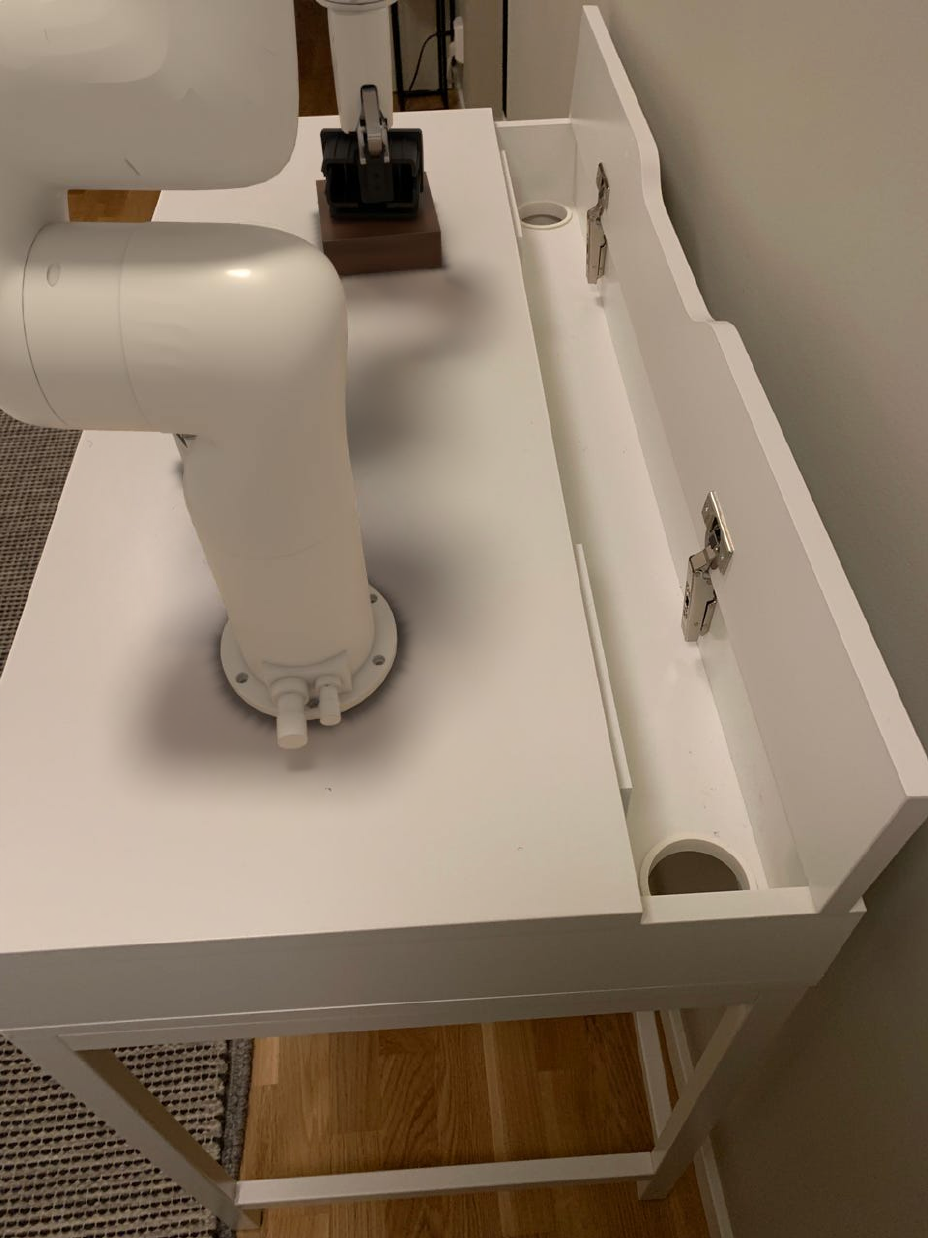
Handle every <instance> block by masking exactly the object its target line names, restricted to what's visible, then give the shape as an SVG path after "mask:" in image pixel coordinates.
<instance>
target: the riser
mask: <svg viewBox="0 0 928 1238" xmlns="http://www.w3.org/2000/svg"><path fill="white" fill-rule="evenodd" d="M325 184H326V179H316V180H315V189H316V197H317V207H318V216H319V225H320V235H321V236H320V237H321V243H322V250H323V251H322V252H323V253H324V254H325V255H326V256H327V258H328V259H329V260H330V262H331V263H332V264H333V266H334V268H335V270H336V271H337V273H338V275H339V277H343V276H344V277H345V276H354V275H366V274H374V273H375V274H376V273H377V274H378V273H387V272H398V271H408V270H420V269H431V268H440V267H441V268H442V267H443V260H442V259H443V257H442V253H443V252H442V230H441V226H440V221H439V217H438V213H437V210H436V206H435V202H434V198H433V193H432V191H431V190H432V189H431V187H430V181H429V178H428V174H427V171H425V170H424V191H423V192H422V193H419V211H418V217H417V218H415V219H333V218H331V217H330V215H329V207H330V206H329V205H328V203H327V199H326V196H325V195H324V190H325Z"/></svg>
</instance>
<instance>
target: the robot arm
mask: <svg viewBox="0 0 928 1238" xmlns="http://www.w3.org/2000/svg"><path fill="white" fill-rule="evenodd" d="M315 2H317V3H318V4H319V5H320V6H322V7H324V8H327V10H326V11H327V26H328V35H329V36H328V37H329V46H330V53H331V54H330V55H331V64H332V71H333V79H334V80H333V81H334V88H335V97H336V104H337V111H338V118H339V124H340V128H341V129H342V130H343V131H344V132H345V133H346V134H349V131H355V130H356V132H357V137H358V145H359V154H360V160H357V161H358V171H359V181H360V191H361V200H362V202H363V203H378V202H390V201H393V199H394V191H393V177H392V162H391V158H389V150H388V141H387V131H386V130H389V129H390V128H393V125H394V93H393V92H394V91H393V62H392V45H391V27H390V13H389V11H390V10H389V6H391V5H394V4H395V3H396V2H398V0H315ZM295 18H296V17H295V4H294V0H0V410H1V411H2V412H3V413H5V414H7V415H9V416H10V417H11V418H13V419H15V420H17V421H19V422H22V423H24V424H28V425H31V426H35V427H39V428H46V429H55V430H56V429H58V430H75V431H76V430H77V431H98V432H99V431H102V432H104V431H105V432H143V433H144V432H145V433H146V432H149V433H161V434H172V435H173V434H190V435H197V437H196V438H195V440H194V442H193V444H192V446H191V448H190V451H189V453H188V456H187V459H186V462H185V466H184V465H183V475H182V491H183V499H184V503H185V507H186V509H187V512H188V514H189V517H190V520H191V523H192V525H193V527H194V529H195V532H196V535H197V538H198V541H199V542H200V545H201V548H202V551H203V553H204V556H205V559H206V561H207V564H208V567H209V569H210V571H211V574H212V578H213V580H214V583H215V585H216V588H217V591H218V593H219V596H220V598H221V601H222V604H223V606H224V609H225V611H226V614H227V617H228V620H227V621H226V624H225V626H224V628H223V630H222V631H223V632H222V635H221V639H220V660H221V664H222V668H223V672H224V674H225V677H226V678H227V681H228V682H229V684H230V686H231V687H232V689H233V690H234V691H235V693H236V694H237V696H239V697H240V698H241V699H242V700H243V701H244V702H245V703H246V704H247V705H248V706H251V707H252V708H254V709H255V710H257V711H259V712H261V713H264V714H266V715H270V716H272V717H274V718H276V743H277V745H278V747H281V748H282V749H288V750H293V749H294V750H295V749H300V748H302V747H304V746H305V745H306V744H308V723H307V722H308V721H312V720H313V721H314V720H318V719H319V723H320V724H321V725H323V726H335V725H338V724H340V722H341V720H342V715H341V713H343V712H346V711H348V710H350V709H351V708H353V707H355V706H357V705H359V704H360V703H362V702H363V701H365V700H366V699H367V698H368V697H370V696H371V695H372V694H373V693H375V691H376V690H377V689H378V688H379V687H380V686H381V685H382V683H383V682H384V681H385V680H386V678H387V676H388V675H389V672H391V669H392V667H393V664H394V661H395V659H396V656H397V651H398V650H397V648H398V632H397V623H396V620H395V616H394V613H393V611H392V609H391V607H390V605H389V603H388V602H387V600H386V599H385V598H384V597H383V595H382V594H381V593H380V592H379V590H377V589H375V588H374V587H373V586H372V585H371V584H369V579H368V572H367V567H366V560H365V552H364V547H363V546H364V545H363V539H362V533H361V526H360V521H359V520H360V519H359V514H358V513H359V512H358V506H357V499H356V493H355V492H356V491H355V486H354V480H353V473H352V467H351V466H352V465H351V460H350V459H351V458H350V450H349V443H348V431H347V429H348V428H347V415H346V414H347V413H346V411H347V409H346V397H347V396H346V393H347V390H346V389H347V368H348V367H347V366H348V345H349V325H348V323H349V322H348V308H347V303H346V302H347V301H346V295H345V290H344V287H343V283H342V281H341V278H340V276H339V275H338V273H337V271H336V270H335V268H334V266H333V264H332V263H331V262H330V260H329V259H328V258H327V256H326V255H325V254H324V251H322V250H320V248H318V247H317V246H315V244H313V243H311V242H309V240H306V239H305V238H302V237H300V236H298V235H296V234H294V233H293V234H294V235H293V234H290V233H288V232H284V231H281V230H278V229H273V228H267V227H262V226H257V225H248V224H236V223H237V222H209V221H208V222H202V221H200V222H199V221H157V220H156V221H152V220H151V221H149V220H148V221H143V222H122V221H121V222H117V221H116V222H115V221H71V220H70V212H69V202H68V201H69V200H68V191H69V190H82V191H83V190H86V191H87V190H88V191H89V190H90V191H215V190H218V191H219V190H232V189H243V188H249V187H253V186H257V185H259V184H260V185H261V184H263V183H266V182H268V181H270V180H272V179H273V178H275V177H277V176H279V175H280V174H281V172H282V171H283V170H284V169H285V167H286V166H287V165H288V164H289V162H291V161H290V160H291V158H292V155H293V152H294V150H295V147H296V142H297V138H298V128H299V117H300V116H299V115H300V114H299V113H300V112H299V110H300V109H299V108H300V88H299V61H298V48H297V47H298V46H297V34H296V19H295ZM356 128H357V129H356ZM366 134H367V141H368V142H365V146H364V138H363V135H366Z"/></svg>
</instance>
